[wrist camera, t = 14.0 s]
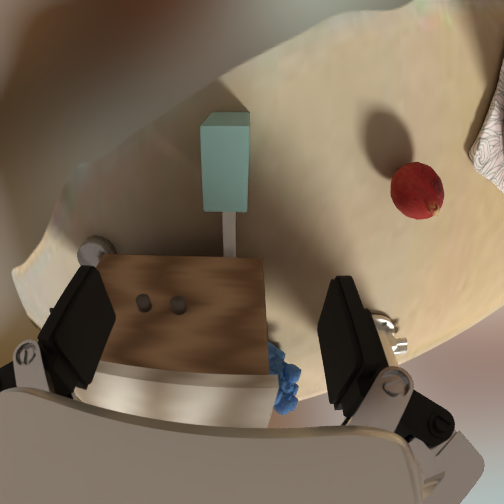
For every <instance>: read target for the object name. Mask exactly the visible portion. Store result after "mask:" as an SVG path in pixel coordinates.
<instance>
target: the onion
mask: <svg viewBox="0 0 504 504" xmlns="http://www.w3.org/2000/svg"><path fill="white" fill-rule="evenodd" d="M391 197H392V200H393V202H394V204H395V206H396V207H397V209H399V210H400V211H401V212H402V213H403V214H404V215H406V216H408V217H410V218H414V219H427V218H430V217H432V216H433V215H438V214H439V210H440V208H441V206H442V203H443V199H444V190H443V185H442V181H441V179H440V178H439V176H438V175H437V174H436V172H435V171H434V170H433V169H432V168H431V167H430V166H428V165H425V164H422V163H419V162H413V163H408V164H406V165H404V166H402V167H401V168H399V169H398V170H397V172H396V173H395V174H394V176H393V178H392V181H391Z"/></svg>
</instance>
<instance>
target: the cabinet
mask: <svg viewBox="0 0 504 504" xmlns="http://www.w3.org/2000/svg"><path fill="white" fill-rule="evenodd" d="M96 270H98V271H99V272H100V275H101V278H102V281H103V283H104V286H105V289H106V291H107V294H108V297H109V299H110V302H111V304H112V307H113V309H114V311H115V314H116V320H115V323H114V326H113V328H112V331H111V333H110V335H109V338H108V340H107V343H106V346H105V348H104V351H103V353H102V356H101V359H100V361H99V364H98V367H97V369H96V372H95V375H94V378H93V381H92V383H91V384H88V387H87V390H84V389H81V388H77V387H75V389H74V392H75V395H76V396H78V397H79V398H80V399H81V400H82V401H83V402H84V403H87V404H91V405H94V406H98V407H102V408H105V409H109V410H114V411H118V412H122V413H127V414H132V415H137V416H142V417H147V418H153V419H158V420H165V421H171V422H179V423H187V424H196V425H206V426H218V427H235V428H267V426H268V423H269V420H270V417H271V413H272V410H273V406H274V403H275V399H276V396H277V392H278V389H279V384H278V375H269V357H268V339H267V321H266V304H265V287H264V271H263V258H241V257H198V256H159V255H123V254H104V255H103V256H102V258H101V260H100V261H99V263H98V265H97V267H96Z"/></svg>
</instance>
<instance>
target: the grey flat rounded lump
mask: <svg viewBox="0 0 504 504" xmlns="http://www.w3.org/2000/svg"><path fill="white" fill-rule="evenodd" d="M104 254H116V251H115V248H114V247H113V245H112V244H111V243H110V242H109V241H108V240H107V239H105V238H103V237H101V236H97V235H94V236H90V237H88V238H87V239H86V241H85V242H84V243H83V245H82V246H81V248H80V249H79V251H78V253H77V258H78V261H79V263H80V265H81V266H82V265H89V266H94V267H95V268H96V267H97V265H98V263H99V261H100V260H101V258H102V256H103V255H104Z"/></svg>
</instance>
